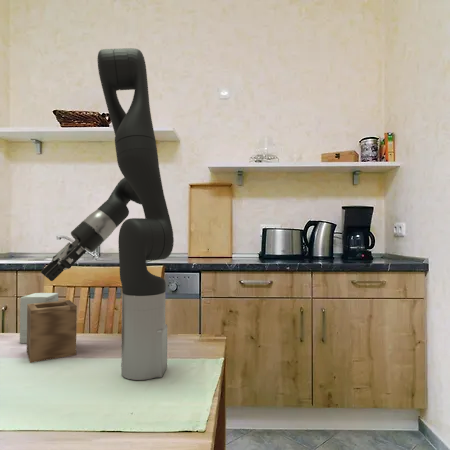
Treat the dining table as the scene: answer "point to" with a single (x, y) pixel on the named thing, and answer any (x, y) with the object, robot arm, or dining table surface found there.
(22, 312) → the supplement box
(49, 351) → the brown wooden bin
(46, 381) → the dining table surface
